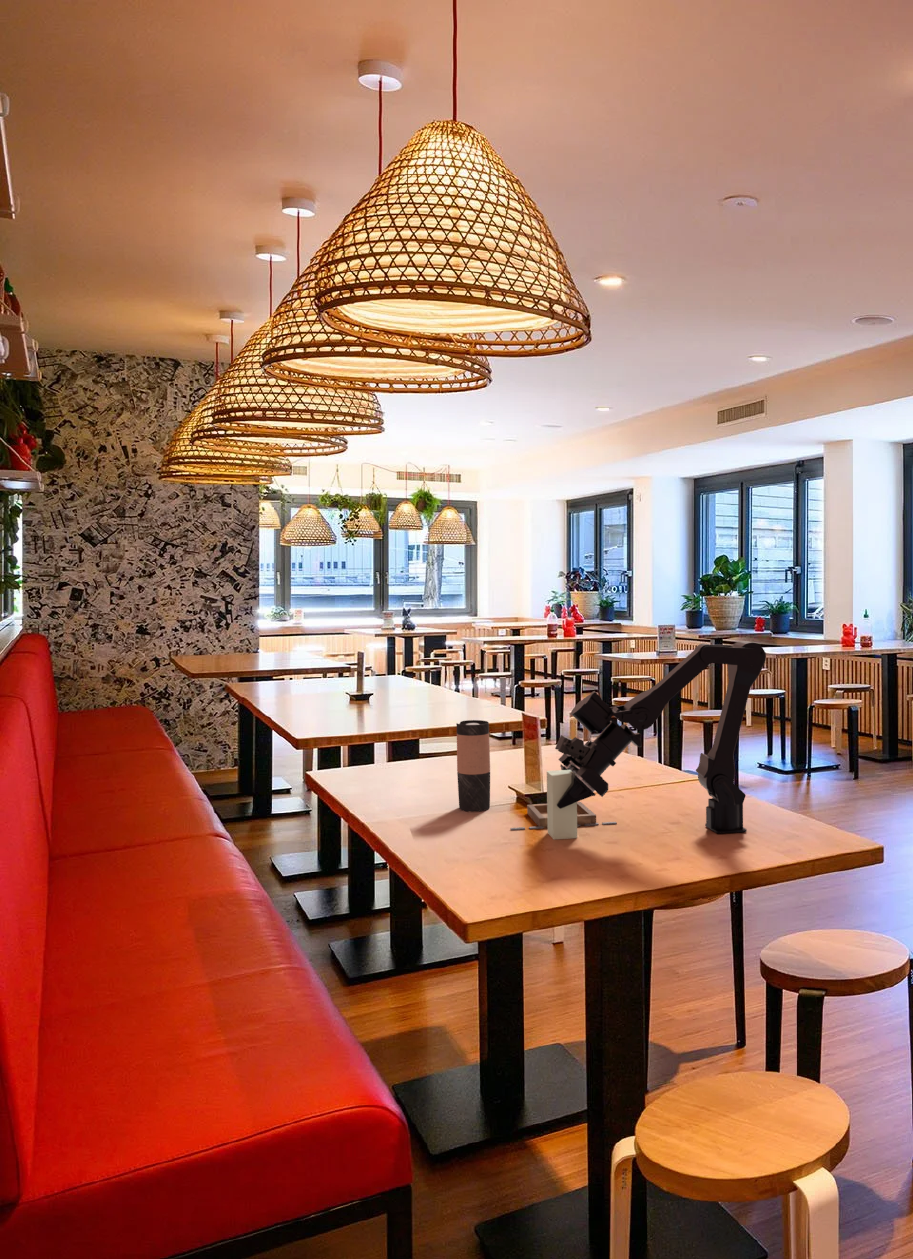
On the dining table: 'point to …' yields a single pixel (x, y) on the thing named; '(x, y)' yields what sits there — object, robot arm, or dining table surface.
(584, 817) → the stub tray
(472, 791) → the travel mug
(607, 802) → the dining table surface
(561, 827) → the stub block
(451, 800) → the dining table surface
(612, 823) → the perforation line
